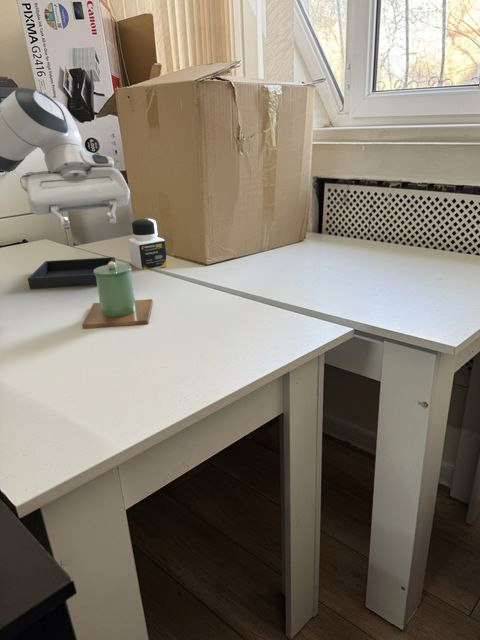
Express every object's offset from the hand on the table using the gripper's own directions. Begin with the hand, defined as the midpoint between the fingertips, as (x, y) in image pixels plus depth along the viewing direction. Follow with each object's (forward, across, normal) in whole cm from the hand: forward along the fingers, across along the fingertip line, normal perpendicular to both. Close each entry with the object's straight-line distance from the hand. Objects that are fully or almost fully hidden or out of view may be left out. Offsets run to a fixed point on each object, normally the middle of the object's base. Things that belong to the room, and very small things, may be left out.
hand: (89, 224), depth 103 cm
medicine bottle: (-2, +17, +24) cm, 30 cm away
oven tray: (-1, -1, +24) cm, 24 cm away
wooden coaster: (+20, 0, +2) cm, 20 cm away
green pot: (+19, 0, +2) cm, 19 cm away
